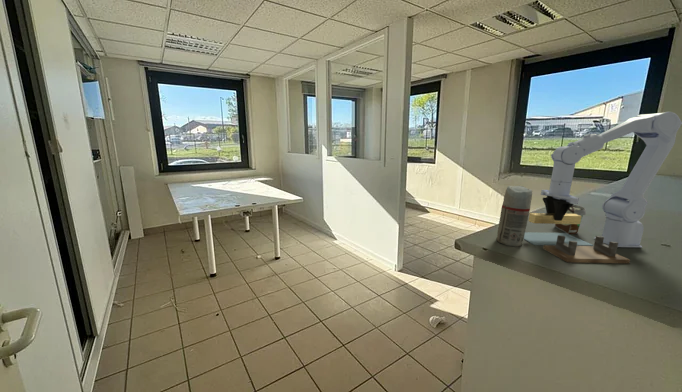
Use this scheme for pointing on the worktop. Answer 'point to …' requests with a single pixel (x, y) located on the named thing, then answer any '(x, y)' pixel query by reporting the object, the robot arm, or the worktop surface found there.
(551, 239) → the rubber mat
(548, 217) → the brass rail
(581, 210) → the food container
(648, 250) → the worktop surface
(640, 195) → the robot arm
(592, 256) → the hook stand
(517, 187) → the spray can
